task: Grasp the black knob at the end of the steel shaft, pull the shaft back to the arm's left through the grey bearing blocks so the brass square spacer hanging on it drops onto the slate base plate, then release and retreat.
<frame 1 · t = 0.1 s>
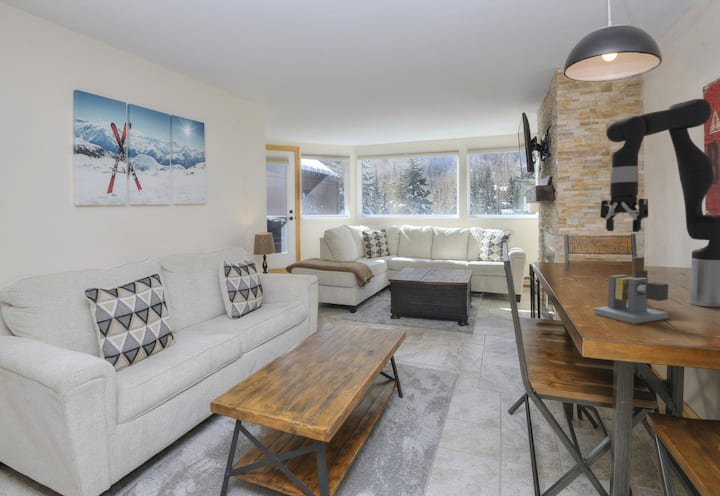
hand: (622, 231, 129), 29 cm above the table, fingers open, 8 cm apart
wooden block: (637, 306, 148), on the table
shaft: (636, 287, 132), point 10 cm above the table, slide at 0.0 cm, touching spacer
bracket: (631, 316, 134), on the table
spacer: (626, 288, 135), point 9 cm above the table, touching shaft
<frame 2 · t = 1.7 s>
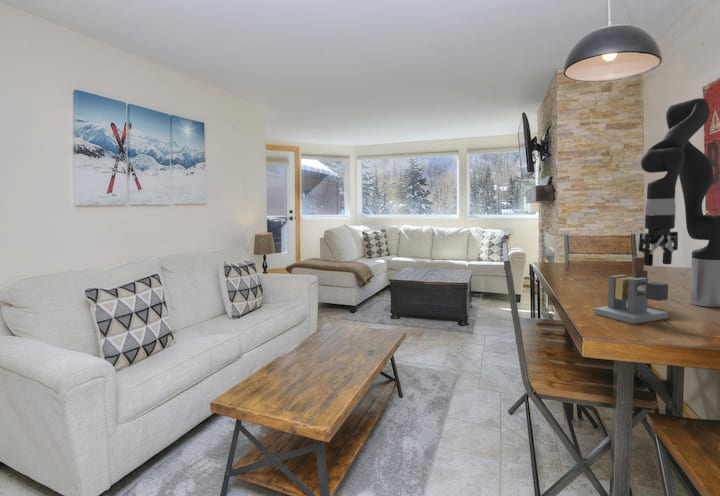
hand: (657, 264, 125), 18 cm above the table, fingers open, 8 cm apart
nothing on the table moved.
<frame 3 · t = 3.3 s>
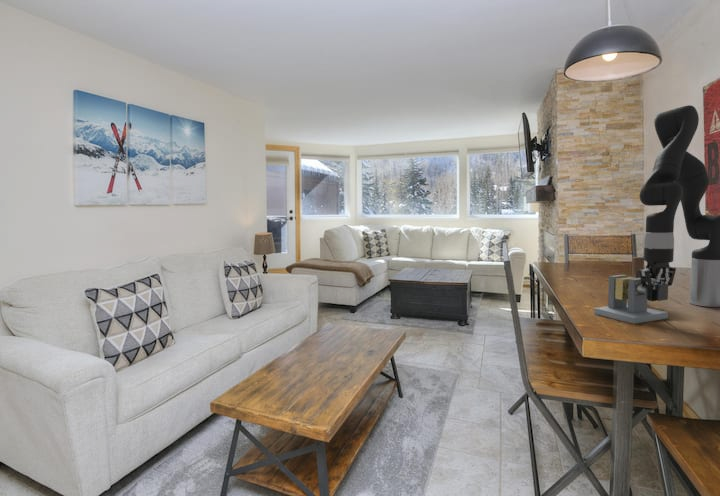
hand: (656, 299, 126), 7 cm above the table, fingers closed on shaft, 4 cm apart
shaft: (636, 287, 132), point 10 cm above the table, slide at 0.0 cm, touching gripper, spacer
everything else where it was.
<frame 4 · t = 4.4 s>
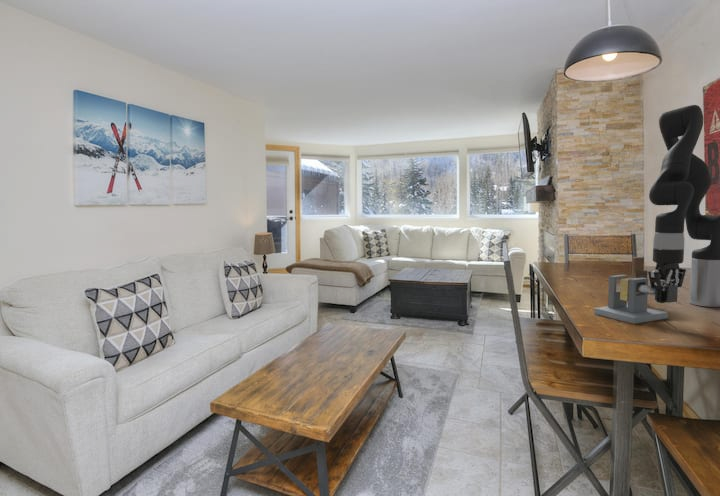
hand: (665, 301, 123), 7 cm above the table, fingers closed on shaft, 4 cm apart
shaft: (644, 289, 129), point 10 cm above the table, slide at 2.7 cm, touching gripper, spacer
spacer: (631, 289, 133), point 9 cm above the table, touching bracket, shaft
everything else where it was.
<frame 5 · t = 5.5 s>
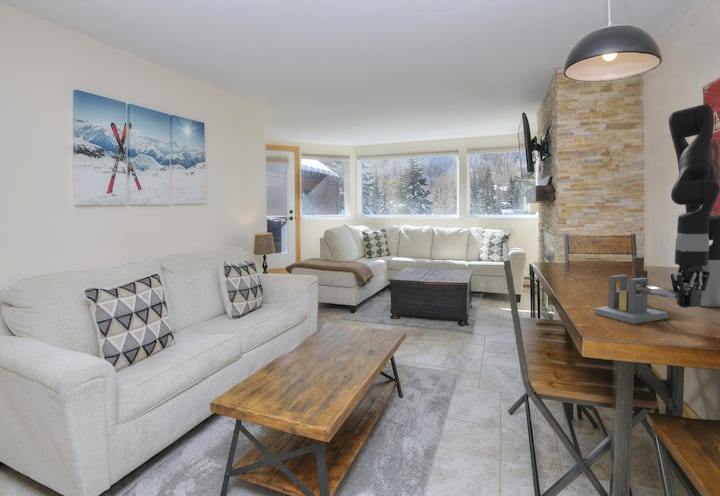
hand: (688, 305, 117), 7 cm above the table, fingers closed on shaft, 4 cm apart
shaft: (665, 292, 123), point 10 cm above the table, slide at 9.1 cm, touching gripper
spacer: (630, 299, 134), point 6 cm above the table, touching bracket
everything else where it was.
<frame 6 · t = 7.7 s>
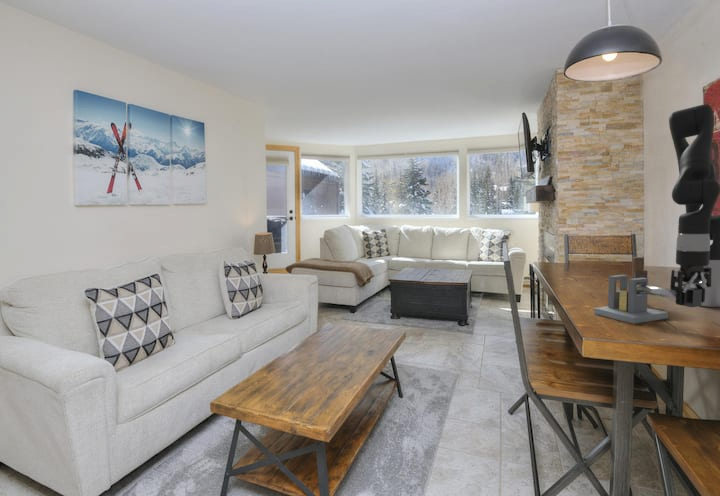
hand: (690, 303, 117), 8 cm above the table, fingers open, 8 cm apart
shaft: (666, 292, 123), point 10 cm above the table, slide at 9.3 cm
everything else where it was.
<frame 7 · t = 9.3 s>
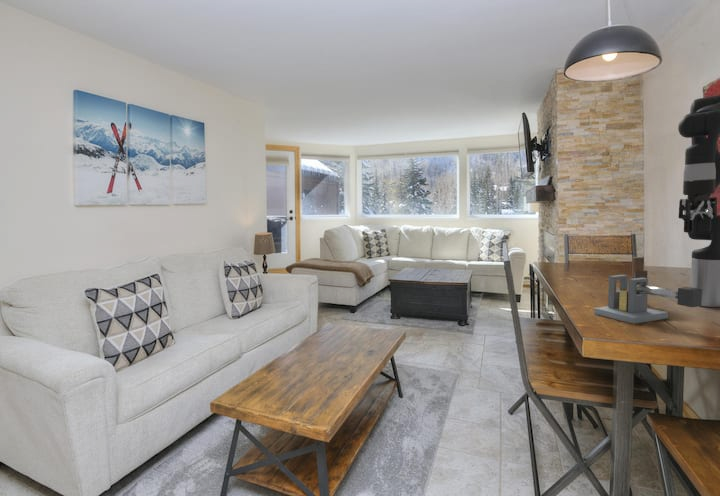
hand: (697, 231, 123), 29 cm above the table, fingers open, 8 cm apart
nothing on the table moved.
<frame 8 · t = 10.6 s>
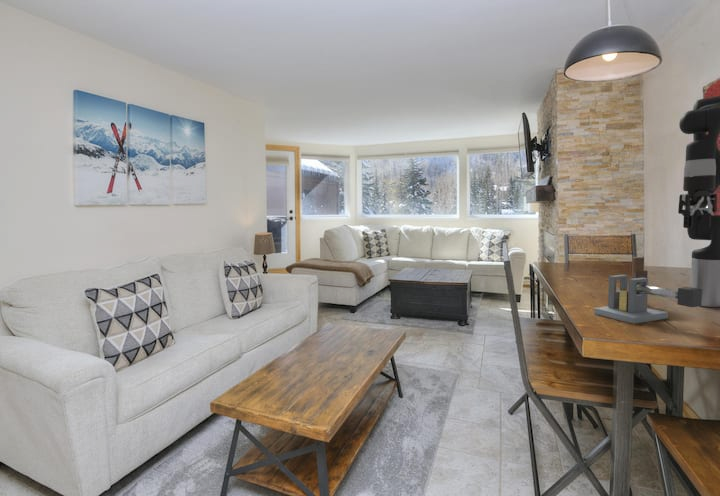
hand: (696, 227, 124), 30 cm above the table, fingers open, 8 cm apart
nothing on the table moved.
at the end: shaft slide at 9.3 cm; spacer inside the target area on the bracket (0.0 cm from its centre), point 5.5 cm above the bracket's base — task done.
